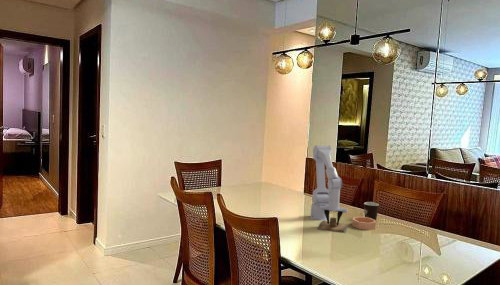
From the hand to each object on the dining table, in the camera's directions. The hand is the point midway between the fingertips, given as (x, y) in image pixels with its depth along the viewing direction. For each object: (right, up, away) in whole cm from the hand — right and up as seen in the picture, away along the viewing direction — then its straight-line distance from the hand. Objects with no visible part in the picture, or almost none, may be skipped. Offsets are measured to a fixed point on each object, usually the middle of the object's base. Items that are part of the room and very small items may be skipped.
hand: (332, 224), depth 197 cm
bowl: (+18, -2, +4) cm, 19 cm away
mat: (0, -2, 0) cm, 2 cm away
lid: (0, -2, 0) cm, 2 cm away
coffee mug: (+27, -2, +19) cm, 33 cm away
